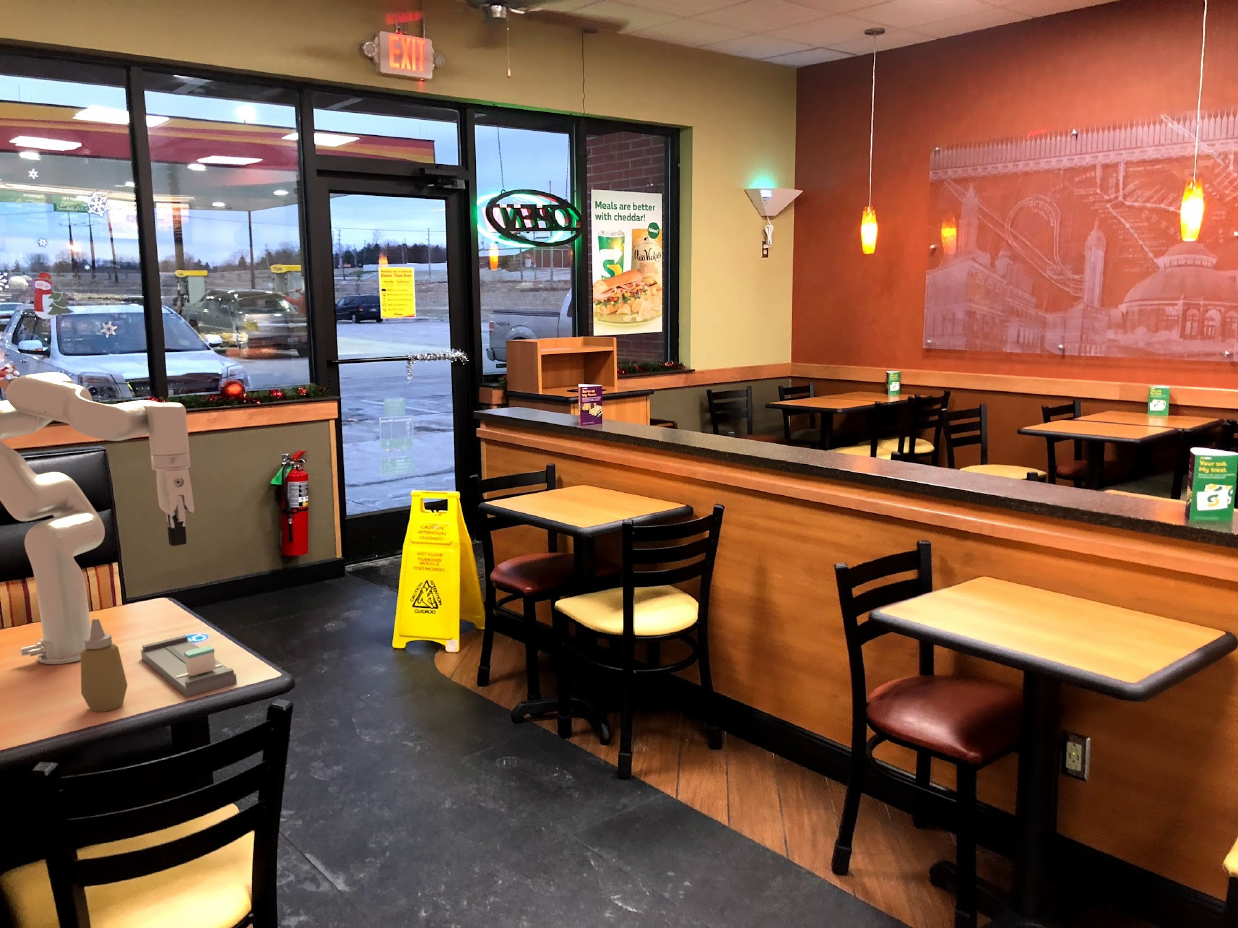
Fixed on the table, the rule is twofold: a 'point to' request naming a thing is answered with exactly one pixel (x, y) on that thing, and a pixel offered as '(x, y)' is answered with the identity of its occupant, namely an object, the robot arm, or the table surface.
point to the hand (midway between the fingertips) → (177, 544)
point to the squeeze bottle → (102, 671)
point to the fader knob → (200, 660)
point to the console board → (184, 667)
